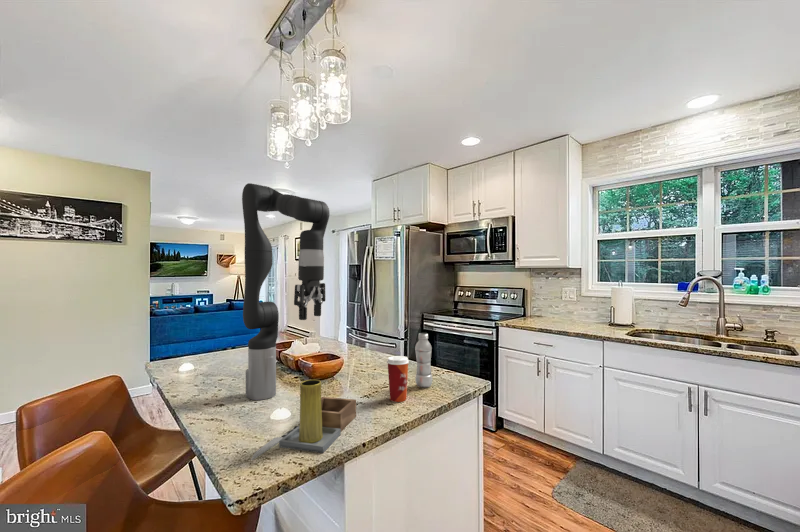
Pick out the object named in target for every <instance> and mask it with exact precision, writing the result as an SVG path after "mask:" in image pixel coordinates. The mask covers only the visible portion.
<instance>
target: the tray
mask: <svg viewBox="0 0 800 532" xmlns="http://www.w3.org/2000/svg"><path fill="white" fill-rule="evenodd" d="M297 426H298V427H297V428H295V429H294V430H293V431H291V430H290V431H291V432H290V433H289V434H288V435H286V436H285V437H284V438H282V439H281V440H280V441H279V443H278V446H279V448H284V449H289V448H290V450H297V451H304V452H305V451H306V452H312V453H320V454H324V453H325V452H326V451H327V450H328V449H329V447H331V445H332V444H334V443H335V441H336V440H337V439H338V438H339V437H340V436H341V435H342V432H341V429H339V428H330V427H322V433H323V438H322V439H321V440H319V441H318V442H315V443H304V442H300V441H299V439H298V438H299V425H297Z"/></svg>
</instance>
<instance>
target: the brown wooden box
mask: <svg viewBox="0 0 800 532" xmlns="http://www.w3.org/2000/svg"><path fill="white" fill-rule="evenodd" d="M321 409H322V427H330V428H339V429H341V433H342V432H343V431H344V430H345V427H346V426H348V425H350V424H351V423H352V422H353V421H354V419H356V417H357V399H352V398H340V397H332V396H331V397H330V396H321ZM346 428H347V427H346Z"/></svg>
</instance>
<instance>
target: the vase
mask: <svg viewBox="0 0 800 532" xmlns="http://www.w3.org/2000/svg"><path fill="white" fill-rule="evenodd" d="M299 387H300V388H299V395H300V396H299V400H300V401H299V425H298V426H299V438H298V439H299V441H300V442H304V443H315V442H318V441H319V440H321V439H322V438H323V433H322V409H321V398H322V381H321V380H320V379H306V380H303V381H301V382H300V384H299Z"/></svg>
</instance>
